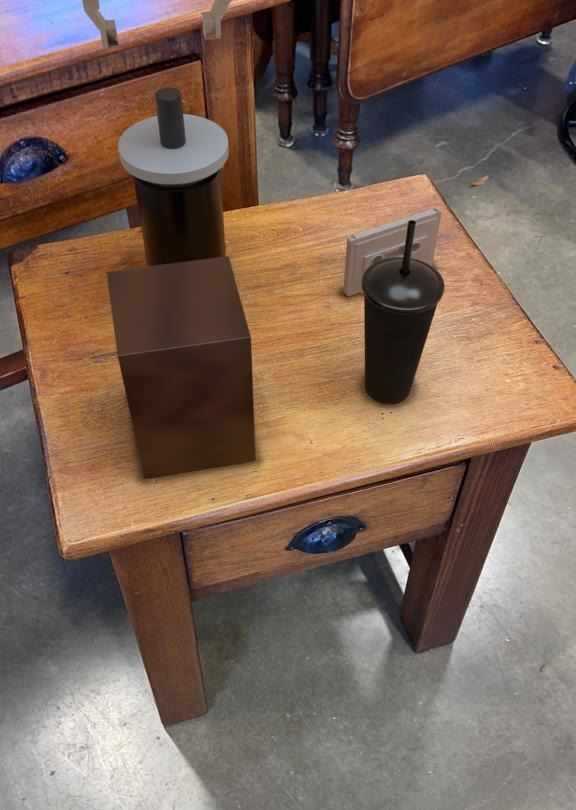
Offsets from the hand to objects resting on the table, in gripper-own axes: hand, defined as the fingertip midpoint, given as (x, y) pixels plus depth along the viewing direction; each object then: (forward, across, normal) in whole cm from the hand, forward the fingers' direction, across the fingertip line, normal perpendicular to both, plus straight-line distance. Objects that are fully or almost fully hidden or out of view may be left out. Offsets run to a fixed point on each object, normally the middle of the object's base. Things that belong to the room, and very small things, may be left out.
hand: (161, 41), depth 77 cm
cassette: (+27, +23, -5) cm, 36 cm away
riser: (+27, -3, -24) cm, 36 cm away
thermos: (+27, 0, 0) cm, 27 cm away
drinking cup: (+27, +18, -22) cm, 39 cm away
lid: (+11, 0, 0) cm, 11 cm away
